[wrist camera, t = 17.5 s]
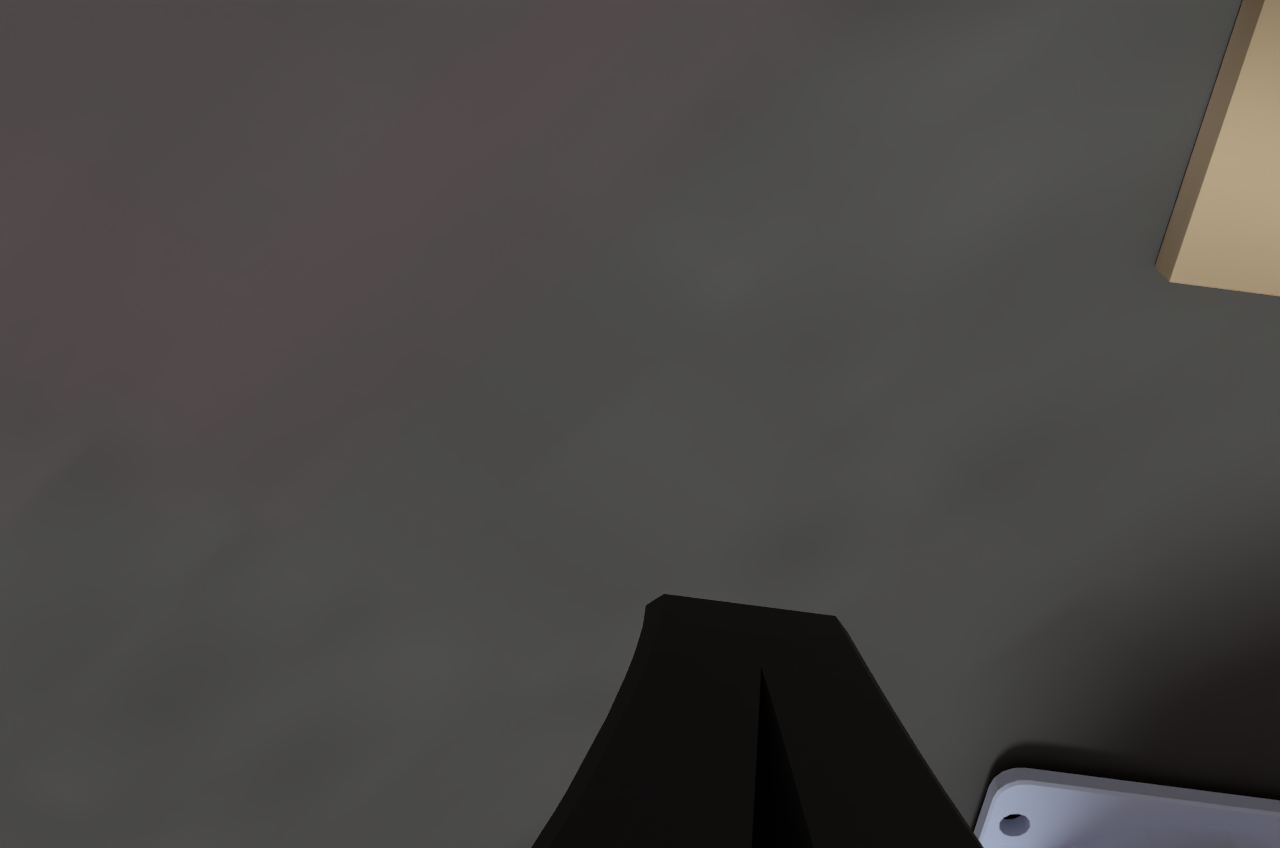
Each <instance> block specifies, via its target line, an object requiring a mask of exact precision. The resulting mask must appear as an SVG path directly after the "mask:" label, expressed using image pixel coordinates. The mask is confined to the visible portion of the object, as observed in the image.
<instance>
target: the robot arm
mask: <svg viewBox="0 0 1280 848" xmlns="http://www.w3.org/2000/svg"><path fill="white" fill-rule="evenodd" d="M1010 814H1020V815H1021V816H1019V817H1017V818H1015V819H1003V818H1004V817H1006V816H1008V815H1010ZM531 848H1280V801H1279V800H1272V799H1264V798H1256V797H1248V796H1240V795H1233V794H1225V793H1217V792H1209V791H1202V790H1194V789H1186V788H1178V787H1170V786H1163V785H1155V784H1147V783H1139V782H1132V781H1124V780H1116V779H1108V778H1100V777H1093V776H1085V775H1077V774H1069V773H1062V772H1054V771H1046V770H1038V769H1031V768H1012V769H1009V770H1006V771H1003V772H1001V773H1000V774H999V775H997V776H996V777H994V779H993V780H992V782H991V784H990V785H989V788H988V791H987V794H986V797H985V800H984V803H983V806H982V809H981V812H980V815H979V818H978V821H977V824H976V827H975V830H974V833H973V831H972V830H971V828H970V827H969V825H968V824H967V822H966V821H965V819H964V818H963V817H962V815H961V814H960V812H959V811H958V809H957V808H956V806H955V805H954V803H953V802H952V800H951V799H950V798H949V796H948V795H947V793H946V792H945V790H944V789H943V787H942V786H941V784H940V783H939V781H938V780H937V778H936V776H935V775H934V773H933V772H932V770H931V769H930V767H929V766H928V764H927V763H926V761H925V760H924V758H923V756H922V755H921V753H920V752H919V750H918V748H917V747H916V745H915V744H914V742H913V740H912V739H911V737H910V736H909V734H908V732H907V731H906V729H905V728H904V726H903V724H902V723H901V721H900V720H899V718H898V716H897V715H896V713H895V712H894V710H893V708H892V707H891V705H890V703H889V702H888V700H887V698H886V697H885V695H884V693H883V692H882V690H881V688H880V687H879V685H878V683H877V682H876V680H875V678H874V677H873V675H872V673H871V672H870V670H869V668H868V666H867V665H866V663H865V661H864V660H863V658H862V656H861V655H860V653H859V651H858V649H857V648H856V646H855V644H854V643H853V641H852V639H851V637H850V636H849V634H848V632H847V631H846V630H845V628H844V627H843V626H842V624H841V623H840V622H839V620H838V619H837V618H836V616H831V615H823V614H815V613H807V612H800V611H792V610H784V609H776V608H769V607H761V606H753V605H745V604H738V603H730V602H722V601H714V600H707V599H699V598H691V597H683V596H676V595H668V594H663V595H662V596H660V597H659V598H657V599H655V600H654V601H652V602H651V603H649V604H647V605H646V609H645V615H644V622H643V627H642V631H641V634H640V638H639V641H638V644H637V648H636V650H635V653H634V656H633V659H632V661H631V664H630V666H629V669H628V671H627V674H626V676H625V679H624V681H623V683H622V685H621V687H620V690H619V692H618V694H617V696H616V698H615V701H614V703H613V705H612V707H611V709H610V712H609V714H608V716H607V718H606V720H605V721H604V723H603V725H602V727H601V729H600V731H599V733H598V734H597V736H596V738H595V740H594V742H593V744H592V746H591V747H590V749H589V751H588V753H587V755H586V757H585V759H584V760H583V762H582V764H581V766H580V768H579V770H578V771H577V773H576V775H575V777H574V779H573V781H572V783H571V784H570V786H569V788H568V790H567V792H566V793H565V795H564V797H563V798H562V800H561V802H560V803H559V805H558V807H557V808H556V810H555V812H554V813H553V815H552V816H551V818H550V820H549V821H548V823H547V824H546V826H545V827H544V829H543V830H542V832H541V833H540V835H539V837H538V838H537V840H536V841H535V843H534V844H533V846H532V847H531Z"/></svg>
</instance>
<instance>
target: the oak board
mask: <svg viewBox="0 0 1280 848" xmlns="http://www.w3.org/2000/svg"><path fill="white" fill-rule="evenodd" d="M1155 268H1156V269H1157V270H1158V271H1159V272H1160V273H1161V274H1162V275H1163V276H1164V277H1165V278H1166V279H1167V280H1168V281H1169V282H1174V283H1182V284H1190V285H1198V286H1205V287H1213V288H1221V289H1228V290H1236V291H1244V292H1252V293H1259V294H1267V295H1275V296H1280V0H1243V1H1242V4H1241V7H1240V10H1239V13H1238V16H1237V19H1236V23H1235V26H1234V29H1233V32H1232V35H1231V38H1230V41H1229V44H1228V47H1227V50H1226V53H1225V56H1224V59H1223V62H1222V65H1221V68H1220V71H1219V74H1218V77H1217V80H1216V83H1215V86H1214V89H1213V92H1212V95H1211V98H1210V101H1209V104H1208V107H1207V110H1206V113H1205V116H1204V119H1203V122H1202V125H1201V128H1200V131H1199V134H1198V137H1197V140H1196V143H1195V146H1194V149H1193V152H1192V155H1191V158H1190V161H1189V164H1188V168H1187V171H1186V174H1185V177H1184V180H1183V183H1182V186H1181V189H1180V192H1179V195H1178V198H1177V201H1176V204H1175V207H1174V210H1173V213H1172V216H1171V219H1170V222H1169V225H1168V228H1167V231H1166V234H1165V237H1164V240H1163V243H1162V246H1161V249H1160V252H1159V255H1158V258H1157V261H1156V264H1155Z"/></svg>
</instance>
